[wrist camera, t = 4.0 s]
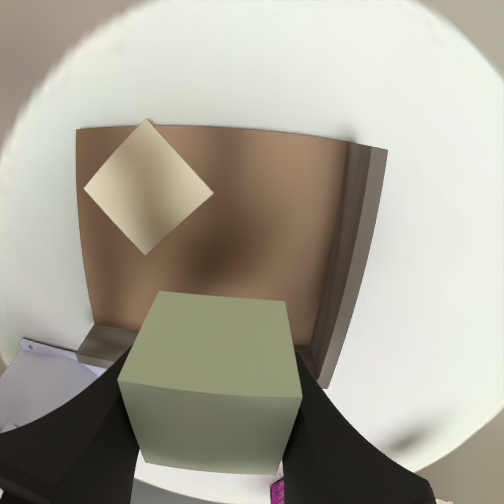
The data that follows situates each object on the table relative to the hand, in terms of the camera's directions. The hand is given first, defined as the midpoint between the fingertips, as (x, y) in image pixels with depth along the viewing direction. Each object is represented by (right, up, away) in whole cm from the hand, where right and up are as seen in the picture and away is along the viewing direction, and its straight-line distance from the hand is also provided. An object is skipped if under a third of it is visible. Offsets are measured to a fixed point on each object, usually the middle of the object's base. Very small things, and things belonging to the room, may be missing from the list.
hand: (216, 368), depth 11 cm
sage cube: (0, +1, +1) cm, 1 cm away
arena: (-1, +4, +7) cm, 9 cm away
